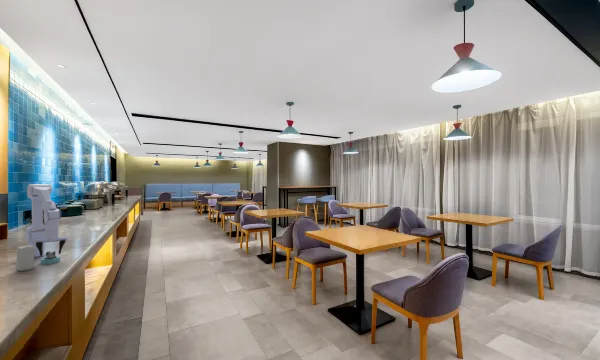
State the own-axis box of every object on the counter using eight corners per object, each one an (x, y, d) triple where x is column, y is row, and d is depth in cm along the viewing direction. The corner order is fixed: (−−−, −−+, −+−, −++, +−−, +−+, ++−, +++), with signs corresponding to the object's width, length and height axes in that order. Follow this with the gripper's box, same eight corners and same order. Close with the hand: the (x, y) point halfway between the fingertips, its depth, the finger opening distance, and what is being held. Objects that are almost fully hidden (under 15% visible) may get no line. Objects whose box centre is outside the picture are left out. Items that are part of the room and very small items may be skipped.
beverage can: (22, 272, 135) (23, 248, 135) (12, 270, 136) (13, 247, 136) (36, 268, 141) (37, 245, 141) (27, 266, 142) (28, 244, 142)
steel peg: (46, 261, 151) (46, 251, 151) (55, 260, 154) (56, 250, 154) (45, 263, 148) (45, 253, 148) (54, 262, 150) (55, 252, 150)
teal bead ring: (41, 261, 152) (42, 257, 152) (60, 259, 156) (60, 255, 156) (39, 265, 145) (39, 260, 145) (58, 262, 150) (59, 258, 150)
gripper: (32, 233, 143) (31, 258, 143) (67, 231, 152) (66, 254, 152) (35, 231, 149) (34, 254, 149) (69, 229, 158) (68, 251, 158)
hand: (50, 254), depth 151 cm, fingers open, 7 cm apart
